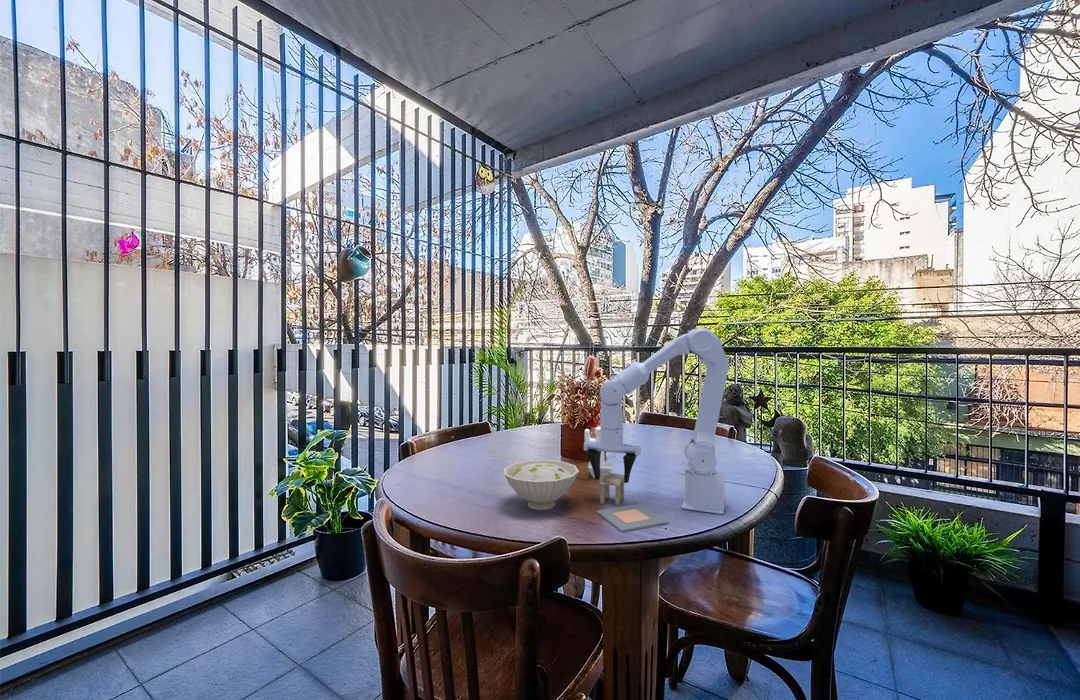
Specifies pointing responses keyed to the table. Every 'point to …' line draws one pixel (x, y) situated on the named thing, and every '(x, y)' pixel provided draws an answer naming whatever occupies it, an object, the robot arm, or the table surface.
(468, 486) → the table surface
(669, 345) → the robot arm
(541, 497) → the bowl
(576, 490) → the table surface
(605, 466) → the figurine
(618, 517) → the mat
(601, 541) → the table surface
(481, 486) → the table surface
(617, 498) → the stool
